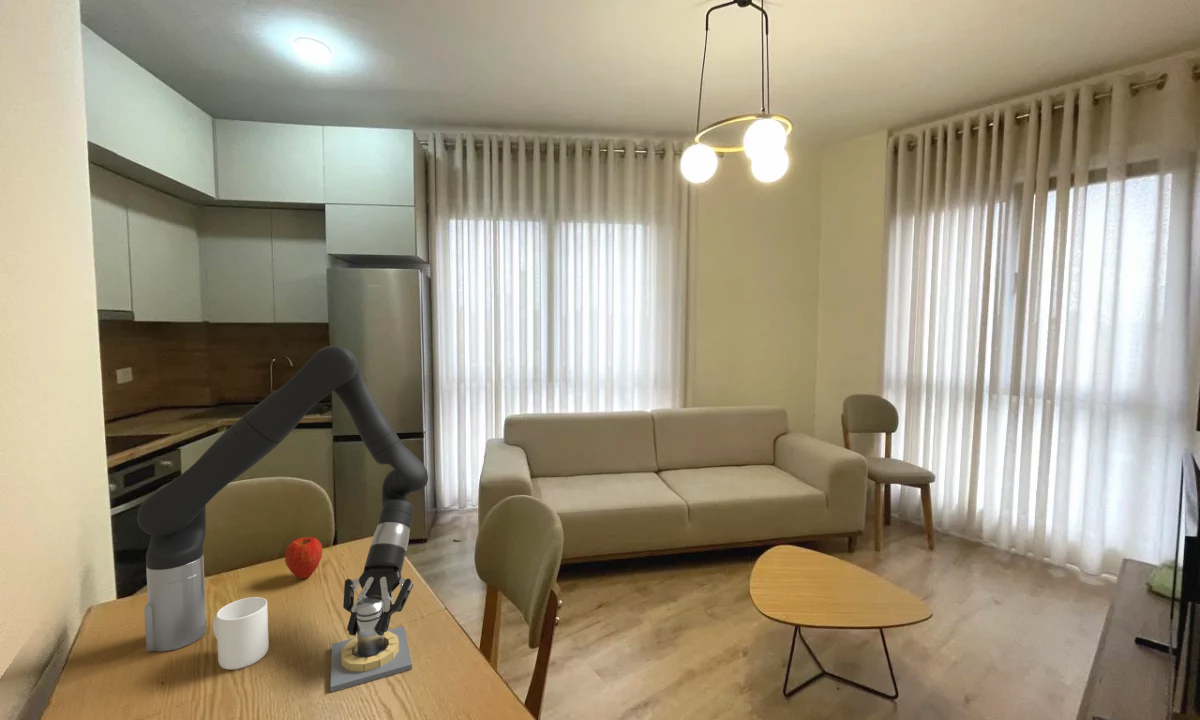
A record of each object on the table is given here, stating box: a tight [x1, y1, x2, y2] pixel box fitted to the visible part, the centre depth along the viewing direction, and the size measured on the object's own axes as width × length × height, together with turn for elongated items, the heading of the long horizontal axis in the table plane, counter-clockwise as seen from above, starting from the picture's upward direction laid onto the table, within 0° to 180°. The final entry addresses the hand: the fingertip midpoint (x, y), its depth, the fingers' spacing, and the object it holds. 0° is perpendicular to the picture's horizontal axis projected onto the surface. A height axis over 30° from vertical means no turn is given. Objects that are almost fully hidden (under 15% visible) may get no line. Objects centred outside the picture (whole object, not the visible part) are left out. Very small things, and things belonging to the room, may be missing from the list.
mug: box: [212, 596, 269, 671], centre depth 101 cm, size 12×8×10 cm
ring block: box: [330, 625, 413, 693], centre depth 101 cm, size 14×14×2 cm
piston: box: [356, 597, 384, 656], centre depth 101 cm, size 5×5×10 cm
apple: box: [284, 536, 323, 580], centre depth 132 cm, size 9×8×11 cm
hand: (366, 634), depth 99 cm, fingers closed on piston, 5 cm apart
